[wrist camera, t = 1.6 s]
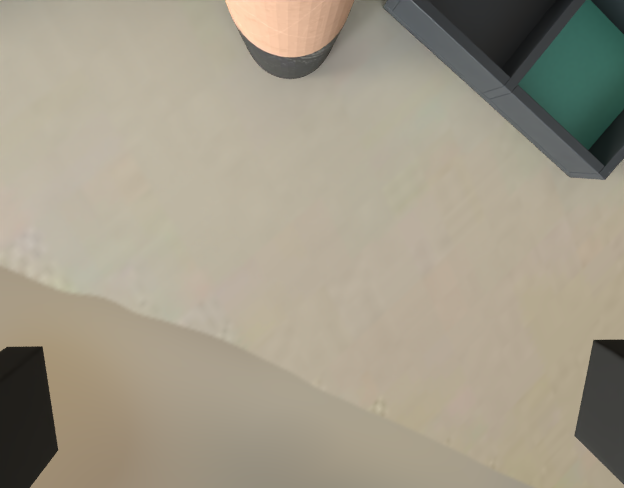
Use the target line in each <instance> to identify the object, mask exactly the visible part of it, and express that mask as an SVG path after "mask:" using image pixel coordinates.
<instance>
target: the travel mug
mask: <svg viewBox="0 0 624 488" xmlns="http://www.w3.org/2000/svg"><path fill="white" fill-rule="evenodd" d="M225 1H226V4H227V7H228V9H229V12H230V14H231V16H232V18H233V21H234V23H235V25H236V27H237V29H238V31H239V33H240V34H241V36H242V38H243V40H244V42H245V44H246V46H247V48H248V50H249V52H250V54H251V55H252V57H253V58H254V60H255V61H256V62H257V64H258V65H259V66H260V67H261V68H263V69H264V70H265V71H267V72H268V73H270V74H272V75H274V76H277V77H280V78H286V79H295V78H300V77H303V76H306V75H308V74H310V73H312V72H313V71H315V70H316V69H317V68H318V67H319V66H320V65H321V64H322V63H323V62H324V60H325V59H326V57H327V55H328V54H329V52H330V50H331V48H332V46H333V44H334V43H335V41H336V39H337V37H338V35H339V33H340V31H341V29H342V27H343V25H344V24H345V22H346V19H347V17H348V15H349V12H350V10H351V7H352V5H353V2H354V0H225Z"/></svg>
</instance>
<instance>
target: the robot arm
mask: <svg viewBox="0 0 624 488" xmlns="http://www.w3.org/2000/svg"><path fill="white" fill-rule="evenodd" d="M575 437H576V438H577V439H578V440H579V441H580V442H581V443H582V444H583V445H584V446H585V447H586V448H587V449H588V450H589V451H591V452H592V453H593V454H594V455H595V456H596V457H597V458H598V459H599V460H600V461H601V462H602V463H603V464H604V465H605V466H606V467H607V468H608V469H609V470H610V471H611V472H612V473H613V474H614V475H615V476H616V477H617V478H618V479H619V480H620V481H621V482H622V483H623V484H624V340H594V341H593V346H592V351H591V356H590V361H589V366H588V371H587V376H586V381H585V386H584V391H583V396H582V401H581V406H580V411H579V416H578V421H577V426H576V431H575ZM57 451H58V446H57V440H56V434H55V426H54V420H53V414H52V406H51V400H50V393H49V386H48V380H47V373H46V367H45V360H44V353H43V347H6V348H5V349H3V350H2V351H1V352H0V488H30V487H31V485H32V484H33V483H34V481H35V480H36V479H37V477H38V476H39V475H40V473H41V472H42V471H43V469H44V468H45V467H46V466H47V464H48V463H49V462H50V460H51V459H52V457H53V456H54V455H55V454H56V452H57Z"/></svg>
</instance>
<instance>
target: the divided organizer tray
mask: <svg viewBox="0 0 624 488" xmlns="http://www.w3.org/2000/svg"><path fill="white" fill-rule="evenodd" d="M383 8H384V9H385V10H386V11H387V12H389V13H390V14H391V15H392V16H393V17H394V18H395V19H396V20H397V21H398V22H400V23H401V24H402V25H403V26H404V27H405V28H406V29H407V30H408V31H409V32H411V33H412V34H413V35H414V36H415V37H416V38H417V39H418V40H419V41H420V42H422V43H423V44H424V45H425V46H426V47H427V48H428V49H429V50H430V51H431V52H433V53H434V54H435V55H436V56H437V57H438V58H439V59H440V60H441V61H442V62H444V63H445V64H446V65H447V66H448V67H449V68H450V69H451V70H452V71H453V72H455V73H456V74H457V75H458V76H459V77H460V78H461V79H462V80H463V81H465V82H466V83H467V84H468V85H469V86H470V87H471V88H472V89H473V90H474V91H476V92H477V93H478V94H479V95H480V96H481V97H482V98H483V99H484V100H485V101H487V102H488V103H489V104H490V105H491V106H492V107H493V108H494V109H495V110H496V111H498V112H499V113H500V114H501V115H502V116H503V117H504V118H505V119H506V120H507V121H509V122H510V123H511V124H512V125H513V126H514V127H515V128H516V129H517V130H518V131H520V132H521V133H522V134H523V135H524V136H525V137H526V138H527V139H528V140H529V141H531V142H532V143H533V144H534V145H535V146H536V147H537V148H538V149H539V150H540V151H542V152H543V153H544V154H545V155H546V156H547V157H548V158H549V159H550V160H551V161H553V162H554V163H555V164H556V165H557V166H558V167H559V168H560V169H561V170H562V171H564V172H565V173H566V174H567V175H568V176H569V177H573V178H574V177H575V178H587V179H600V180H605V179H606V178H607V177H608V176H609V175H610V173H611V172H612V171H613V170H614V169H615V168H616V167H617V165H618V164H619V163H620V162H621V161H622V160H623V159H624V0H387V2H386V3H385V5H384V6H383Z"/></svg>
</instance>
